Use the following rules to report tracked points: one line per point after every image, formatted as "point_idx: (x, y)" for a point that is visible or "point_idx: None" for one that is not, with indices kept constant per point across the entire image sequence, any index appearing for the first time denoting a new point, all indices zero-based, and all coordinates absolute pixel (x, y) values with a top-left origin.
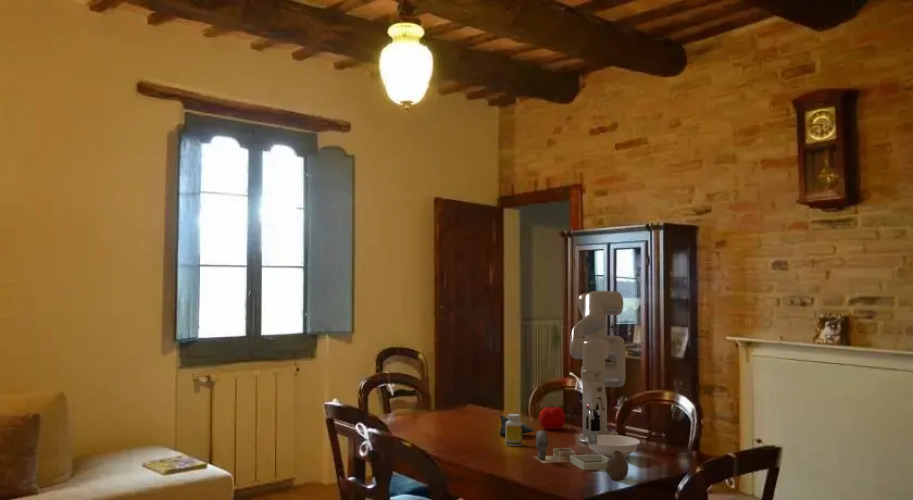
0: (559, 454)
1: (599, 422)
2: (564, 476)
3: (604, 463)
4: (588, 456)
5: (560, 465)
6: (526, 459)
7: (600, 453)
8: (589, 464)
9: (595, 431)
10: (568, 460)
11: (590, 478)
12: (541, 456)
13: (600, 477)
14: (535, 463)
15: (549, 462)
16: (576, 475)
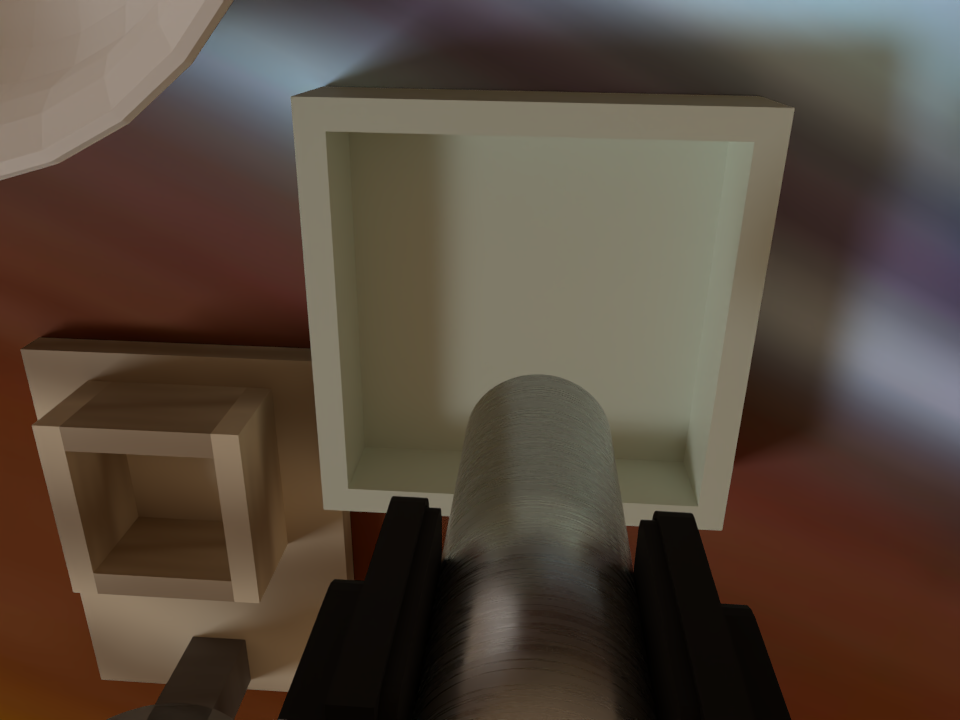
0: (267, 585)
1: (731, 663)
2: None
3: (759, 282)
4: (339, 299)
5: (364, 542)
6: (116, 700)
7: (103, 12)
8: (730, 461)
9: (631, 562)
10: (285, 462)
11: (916, 499)
12: (238, 696)
13: (926, 396)
14: (266, 690)
15: None
16: (763, 564)
